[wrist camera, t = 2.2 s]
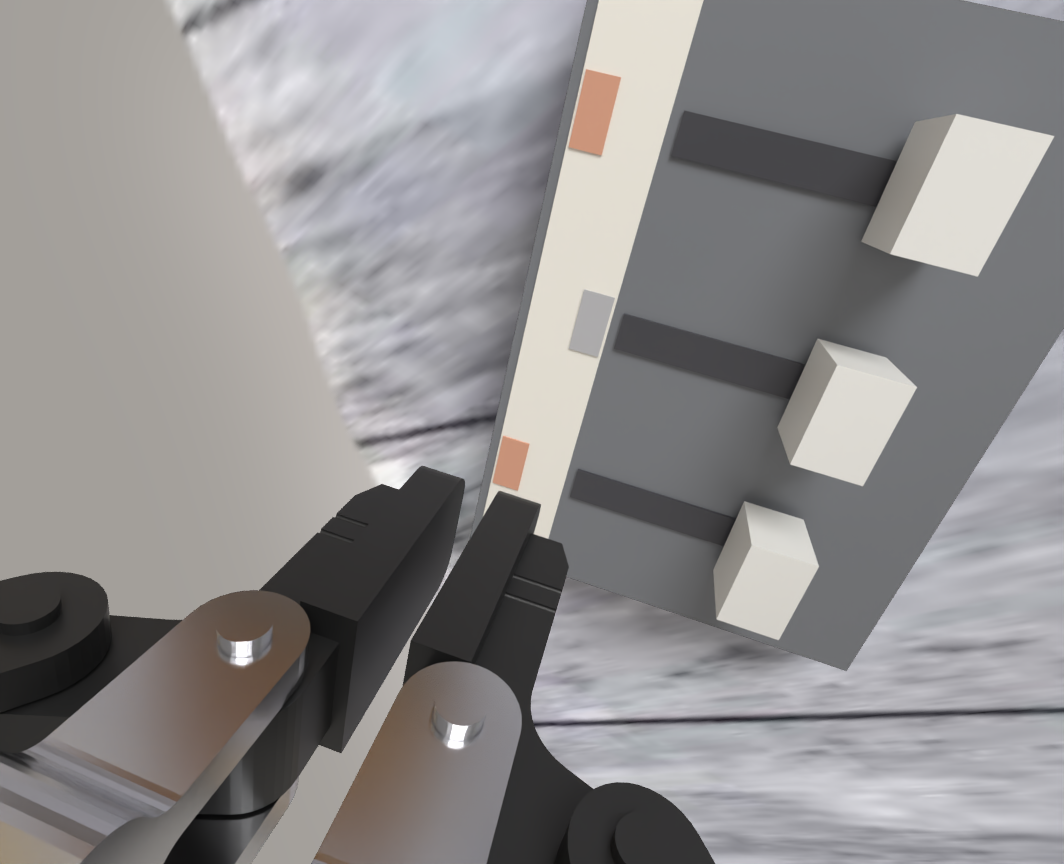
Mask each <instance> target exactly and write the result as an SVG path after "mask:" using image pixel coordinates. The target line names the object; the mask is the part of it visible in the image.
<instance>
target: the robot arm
mask: <svg viewBox="0 0 1064 864" xmlns="http://www.w3.org/2000/svg"><path fill="white" fill-rule="evenodd" d="M464 488H465V481H464V479H462V478H459V477H456V476H453V475H450V474H446V473H443V472H440V471H437V470H434V469H431V468H428V467H425V466H421V467H419V468H418V469H417V470H416V471H415V473H414V474H413V475H412V476H411V477H410V478H409V479H408V480H407V482H406V483H405V484H404V485H403V486H402V487H401V488H400V489H399V490H398V489H395V488H392V487H389V486H386V485H383V484H381V485H379V486H376V487H374V488H372V489H369V490H367V491H365V492H362V493H360V494H357V495H355V496H354V497H353V498H352V499H351V500H350V501H349V502H348V503H347V504H346V505H345V506H344V507H343V508H342V509H341V510H340V511H339V512H338V513H337V515H336V517H335V518H334V517H333V518H332V519H331V520H330V521H329V522H328V523H327V524H326V525H325V526H324V527H323V528H322V529H321V532H320V533H317V534H316V535H315V536H314V537H313V538H312V539H311V540H309V541H308V543H306V544H305V546H304V547H302V548H301V549H300V550H299V551H298V552H297V553H296V554H295V555H294V556H293V557H292V558H291V559H290V560H289V561H288V562H287V563H286V564H285V565H284V567H282V568H281V569H280V570H279V571H278V572H277V573H276V574H275V575H274V576H273V577H272V578H271V579H270V580H269V581H268V582H267V583H266V584H265V585H264V586H263V587H262V588H261V589H260V590H259V591H258V590H250V591H240V592H234V593H230V594H226V595H223V596H220V597H217V598H215V599H212V600H210V601H208V602H207V603H205V604H203V605H201V606H200V607H198V608H197V609H196V610H194V611H193V612H192V613H191V614H189V615H188V616H187V617H186V618H185V619H184V620H165V619H152V618H139V617H125V616H112V615H109V607H108V599H107V594H106V593H105V591H104V589H103V588H102V587H101V586H100V585H99V584H98V583H97V582H95V581H94V580H92V579H90V578H88V577H85V576H83V575H78V574H73V573H66V572H43V573H34V574H29V575H24V576H19V577H14V578H10V579H6V580H2V581H0V864H251V863H252V862H253V860H254V859H255V857H256V856H257V854H258V852H259V851H260V849H261V848H262V846H263V845H264V843H265V842H266V840H267V839H268V837H269V836H270V834H271V833H272V831H273V829H274V828H275V827H276V825H277V824H278V822H279V820H280V819H281V817H282V816H283V814H284V813H285V811H286V810H287V808H288V807H289V805H290V803H291V801H292V800H293V798H294V796H295V793H296V790H297V785H298V780H299V775H300V773H301V772H302V770H303V769H304V767H305V765H306V764H307V762H308V761H309V759H310V758H311V756H312V754H313V753H314V751H315V750H316V748H317V747H318V745H321V746H324V747H326V748H329V749H332V750H334V751H336V752H340V753H342V751H343V749H344V748H345V746H346V744H347V743H348V741H349V739H350V737H351V736H352V734H353V732H354V731H355V729H356V727H357V726H358V724H359V722H360V721H361V719H362V717H363V715H364V714H365V712H366V710H367V709H368V707H369V705H370V704H371V702H372V700H373V699H374V697H375V695H376V693H377V692H378V690H379V688H380V687H381V685H382V683H383V682H384V680H385V678H386V676H387V675H388V673H389V671H390V670H391V668H392V666H393V665H394V663H395V661H396V659H397V658H398V656H399V654H400V653H401V651H402V649H403V647H404V646H405V644H406V643H407V641H408V639H409V638H410V636H411V634H412V632H413V631H414V629H415V627H416V626H417V624H418V622H419V621H420V619H421V617H422V616H423V614H424V612H425V610H426V609H427V607H428V605H429V604H430V602H431V600H432V599H433V597H434V595H435V593H436V592H437V590H438V588H439V586H440V584H441V582H442V580H443V578H444V575H445V572H446V570H447V567H448V564H449V561H450V557H451V553H452V548H453V543H454V538H455V533H456V529H457V524H458V519H459V514H460V509H461V504H462V499H463V494H464ZM540 508H541V504H539V503H536V502H533V501H530V500H527V499H524V498H521V497H518V496H515V495H512V494H508V493H505V492H502V491H498V492H497V494H496V496H495V497H494V499H493V501H492V502H491V504H490V506H489V508H488V509H487V511H486V513H485V514H484V516H483V518H482V520H481V521H480V523H479V525H478V526H477V528H476V530H475V532H474V533H473V535H472V537H471V538H470V540H469V542H468V544H467V545H466V547H465V549H464V550H463V552H462V554H461V556H460V557H459V559H458V561H457V562H456V564H455V566H454V568H453V569H452V571H451V573H450V574H449V576H448V578H447V580H446V581H445V583H444V585H443V586H442V588H441V590H440V592H439V593H438V595H437V597H436V598H435V600H434V602H433V604H432V605H431V607H430V609H429V610H428V612H427V614H426V616H425V617H424V619H423V621H422V622H421V624H420V626H419V628H418V629H417V631H416V633H415V634H414V636H413V638H412V640H411V643H410V649H409V654H408V659H407V665H406V671H405V676H404V682H403V687H402V688H401V690H400V692H399V693H398V695H397V697H396V699H395V701H394V703H393V705H392V707H391V709H390V711H389V713H388V715H387V717H386V719H385V721H384V723H383V725H382V727H381V729H380V731H379V733H378V735H377V737H376V739H375V740H374V743H373V744H372V746H371V748H370V750H369V752H368V754H367V756H366V758H365V760H364V762H363V764H362V766H361V768H360V770H359V772H358V774H357V776H356V778H355V780H354V782H353V784H352V786H351V788H350V789H349V791H348V794H347V795H346V798H345V799H344V801H343V803H342V805H341V807H340V809H339V811H338V813H337V815H336V817H335V819H334V821H333V823H332V825H331V827H330V829H329V831H328V833H327V834H326V837H325V838H324V840H323V842H322V844H321V846H320V848H319V850H318V852H317V854H316V856H315V858H314V860H313V861H312V863H311V864H715V862H714V861H713V859H712V857H711V855H710V854H709V852H708V850H707V848H706V847H705V845H704V843H703V841H702V840H701V838H700V836H699V834H698V833H697V831H696V830H695V828H694V827H693V825H692V824H691V822H690V821H689V820H688V819H687V818H686V816H685V815H684V814H683V813H682V812H681V811H680V810H679V809H678V808H677V807H676V806H675V805H674V804H673V803H671V802H670V801H669V800H667V799H666V798H664V797H663V796H662V795H660V794H658V793H656V792H654V791H653V790H651V789H648V788H645V787H643V786H640V785H636V784H631V783H618V782H616V783H610V784H605V785H602V786H600V787H597V788H595V789H593V788H591V787H590V786H589V785H587V784H586V783H585V782H583V781H582V780H581V779H580V778H578V777H577V776H576V775H574V774H573V773H572V772H570V771H569V770H568V769H566V768H565V767H564V766H563V765H562V764H561V763H559V762H558V761H557V760H556V759H555V758H554V757H553V756H552V755H551V753H550V752H549V751H548V750H547V749H546V747H545V746H544V744H543V743H542V741H541V740H540V738H539V736H538V734H537V732H536V730H535V727H534V724H533V720H532V715H531V695H532V690H533V687H534V684H535V680H536V677H537V673H538V670H539V667H540V663H541V660H542V657H543V653H544V650H545V646H546V643H547V640H548V636H549V633H550V629H551V626H552V623H553V619H554V616H555V612H556V609H557V606H558V602H559V599H560V596H561V592H562V589H563V586H564V582H565V579H566V575H567V572H568V569H569V565H568V562H567V558H566V555H565V552H564V548H563V545H562V543H559V542H556V541H553V540H550V539H547V538H544V537H541V536H538V535H535V534H534V531H535V528H536V524H537V520H538V517H539V513H540Z"/></svg>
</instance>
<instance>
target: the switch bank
mask: <svg viewBox="0 0 1064 864" xmlns="http://www.w3.org/2000/svg"><path fill="white" fill-rule="evenodd" d="M953 114H960V115H964V116H968V117H973V118H977V119H982V120H986V121H990V122H995V123H999V124H1004V125H1008V126H1012V127H1017V128H1021V129H1026V130H1030V131H1034V132H1039V133H1043V134H1048V135H1052V136H1054V138H1053V140H1052V142H1051V144H1050V145H1049V147H1048V149H1047V151H1046V153H1045V154H1044V156H1043V158H1042V160H1041V162H1040V164H1039V165H1038V167H1037V169H1036V171H1035V173H1034V175H1033V176H1032V178H1031V180H1030V182H1029V184H1028V186H1027V187H1026V189H1025V191H1024V193H1023V195H1022V197H1021V198H1020V200H1019V202H1018V204H1017V206H1016V207H1015V209H1014V211H1013V213H1012V215H1011V217H1010V218H1009V220H1008V222H1007V224H1006V226H1005V228H1004V229H1003V231H1002V233H1001V235H1000V237H999V239H998V240H997V242H996V244H995V246H994V248H993V250H992V251H991V253H990V255H989V257H988V259H987V260H986V262H985V264H984V266H983V268H982V270H981V271H980V273H979V275H978V277H977V276H973V275H969V274H966V273H962V272H958V271H954V270H950V269H946V268H942V267H938V266H934V265H930V264H927V263H923V262H919V261H915V260H911V259H907V258H903V257H899V256H895V255H891V254H889V253H886V252H884V251H882V250H879V249H877V248H875V247H872V246H870V245H868V244H866V243H863V242H861V241H862V239H863V236H864V234H865V232H866V230H867V227H868V225H869V223H870V221H871V219H872V216H873V214H874V212H875V210H876V208H877V205H878V203H879V201H880V199H881V196H882V194H883V192H884V190H885V188H886V185H887V183H888V181H889V179H890V176H891V174H892V172H893V170H894V168H895V165H896V163H897V161H898V159H899V156H900V154H901V152H902V150H903V148H904V145H905V143H906V141H907V139H908V136H909V134H910V132H911V130H912V128H913V125H914V123H915V122H917V121H922V120H928V119H933V118H938V117H943V116H948V115H953ZM1063 329H1064V21H1060V20H1055V19H1050V18H1045V17H1040V16H1035V15H1031V14H1026V13H1021V12H1016V11H1011V10H1006V9H1002V8H997V7H992V6H987V5H982V4H977V3H972V2H968V1H963V0H587V2H586V7H585V11H584V16H583V21H582V25H581V30H580V34H579V39H578V44H577V48H576V53H575V57H574V62H573V67H572V71H571V76H570V80H569V85H568V90H567V94H566V99H565V103H564V108H563V113H562V117H561V122H560V126H559V131H558V136H557V140H556V145H555V149H554V154H553V159H552V163H551V168H550V172H549V177H548V182H547V186H546V191H545V195H544V200H543V205H542V209H541V214H540V218H539V223H538V228H537V232H536V237H535V241H534V246H533V251H532V255H531V260H530V264H529V269H528V274H527V278H526V283H525V287H524V292H523V297H522V301H521V306H520V310H519V315H518V320H517V324H516V329H515V333H514V338H513V343H512V347H511V352H510V356H509V361H508V366H507V370H506V375H505V379H504V384H503V389H502V393H501V398H500V402H499V407H498V412H497V416H496V421H495V425H494V430H493V435H492V439H491V444H490V448H489V453H488V458H487V462H486V467H485V471H484V476H483V481H482V485H481V490H480V494H479V499H478V504H477V508H476V513H475V517H474V522H473V527H472V531H471V536H470V538H471V537H472V535H473V533H474V532H475V530H476V528H477V526H478V525H479V523H480V521H481V520H482V518H483V516H484V514H485V513H486V511H487V509H488V508H489V506H490V504H491V502H492V501H493V499H494V497H495V496H496V494H497V492H498V491H502V492H505V493H508V494H512V495H515V496H518V497H521V498H524V499H527V500H530V501H533V502H536V503H539V504H541V508H540V513H539V517H538V520H537V524H536V528H535V531H534V534H535V535H538V536H541V537H544V538H547V539H550V540H553V541H556V542H559V543H562V545H563V548H564V552H565V555H566V558H567V562H568V565H569V569H568V572H567V575H566V577H568V578H571V579H574V580H577V581H580V582H583V583H586V584H589V585H592V586H595V587H598V588H601V589H604V590H607V591H610V592H613V593H616V594H619V595H622V596H625V597H628V598H631V599H634V600H637V601H640V602H643V603H646V604H649V605H652V606H655V607H658V608H661V609H664V610H667V611H670V612H673V613H676V614H678V615H681V616H684V617H687V618H690V619H693V620H696V621H699V622H702V623H705V624H708V625H711V626H714V627H717V628H720V629H723V630H726V631H729V632H732V633H735V634H738V635H741V636H744V637H747V638H750V639H753V640H756V641H759V642H762V643H765V644H768V645H771V646H774V647H777V648H780V649H783V650H786V651H788V652H791V653H794V654H797V655H800V656H803V657H806V658H809V659H812V660H815V661H818V662H821V663H824V664H827V665H830V666H833V667H836V668H839V669H842V670H845V671H847V669H848V668H849V666H850V665H851V663H852V661H853V660H854V658H855V657H856V655H857V654H858V652H859V650H860V649H861V647H862V646H863V644H864V643H865V641H866V639H867V638H868V636H869V635H870V633H871V631H872V630H873V628H874V627H875V625H876V624H877V622H878V620H879V619H880V617H881V616H882V614H883V613H884V611H885V609H886V608H887V606H888V605H889V603H890V601H891V600H892V598H893V597H894V595H895V594H896V592H897V590H898V589H899V587H900V586H901V584H902V583H903V581H904V579H905V578H906V576H907V575H908V573H909V572H910V570H911V568H912V567H913V565H914V564H915V562H916V560H917V559H918V557H919V556H920V554H921V553H922V551H923V549H924V548H925V546H926V545H927V543H928V542H929V540H930V538H931V537H932V535H933V534H934V532H935V531H936V529H937V527H938V526H939V524H940V523H941V521H942V519H943V518H944V516H945V515H946V513H947V512H948V510H949V508H950V507H951V505H952V504H953V502H954V501H955V499H956V497H957V496H958V494H959V493H960V491H961V490H962V488H963V486H964V485H965V483H966V482H967V480H968V478H969V477H970V475H971V474H972V472H973V471H974V469H975V467H976V466H977V464H978V463H979V461H980V460H981V458H982V456H983V455H984V453H985V452H986V450H987V449H988V447H989V445H990V444H991V442H992V441H993V439H994V437H995V436H996V434H997V433H998V431H999V430H1000V428H1001V426H1002V425H1003V423H1004V422H1005V420H1006V419H1007V417H1008V415H1009V414H1010V412H1011V411H1012V409H1013V407H1014V406H1015V404H1016V403H1017V401H1018V400H1019V398H1020V396H1021V395H1022V393H1023V392H1024V390H1025V389H1026V387H1027V385H1028V384H1029V382H1030V381H1031V379H1032V378H1033V376H1034V374H1035V373H1036V371H1037V370H1038V368H1039V366H1040V365H1041V363H1042V362H1043V360H1044V359H1045V357H1046V355H1047V354H1048V352H1049V351H1050V349H1051V348H1052V346H1053V344H1054V343H1055V341H1056V340H1057V338H1058V337H1059V335H1060V333H1061V332H1062V330H1063ZM817 339H821V340H825V341H828V342H832V343H836V344H839V345H843V346H846V347H850V348H854V349H857V350H861V351H865V352H868V353H872V354H875V355H879V356H883V357H886V358H887V359H888V360H889V361H890V362H892V363H893V364H894V365H895V366H896V367H897V368H898V369H899V370H900V371H901V372H902V373H903V374H904V375H905V376H906V377H907V378H908V379H909V380H910V381H911V382H912V383H913V384H914V385H915V386H916V387H917V388H916V390H915V392H914V394H913V396H912V398H911V399H910V401H909V403H908V405H907V407H906V409H905V410H904V412H903V414H902V416H901V418H900V420H899V421H898V423H897V425H896V427H895V429H894V430H893V432H892V434H891V436H890V438H889V440H888V441H887V443H886V445H885V447H884V449H883V451H882V452H881V454H880V456H879V458H878V460H877V462H876V463H875V465H874V467H873V469H872V471H871V473H870V474H869V476H868V478H867V480H866V482H865V483H864V485H863V486H860V485H857V484H854V483H850V482H847V481H844V480H840V479H837V478H834V477H830V476H827V475H824V474H820V473H817V472H814V471H810V470H807V469H804V468H800V467H797V466H794V465H790V463H789V460H788V457H787V454H786V451H785V448H784V445H783V442H782V439H781V437H780V434H779V431H778V428H777V427H778V425H779V423H780V421H781V418H782V416H783V414H784V412H785V410H786V407H787V405H788V403H789V401H790V398H791V396H792V394H793V392H794V390H795V387H796V385H797V383H798V381H799V378H800V376H801V374H802V372H803V370H804V367H805V365H806V363H807V361H808V359H809V356H810V354H811V352H812V350H813V347H814V345H815V343H816V341H817ZM744 501H745V502H749V503H752V504H755V505H758V506H761V507H765V508H768V509H771V510H774V511H778V512H781V513H784V514H787V515H790V516H794V517H797V518H800V519H803V520H804V522H805V525H806V528H807V531H808V535H809V538H810V541H811V544H812V547H813V550H814V553H815V556H816V559H817V562H818V565H819V568H818V569H817V571H816V573H815V575H814V577H813V579H812V580H811V582H810V584H809V586H808V588H807V589H806V591H805V593H804V595H803V597H802V599H801V600H800V602H799V604H798V606H797V608H796V610H795V611H794V613H793V615H792V617H791V619H790V621H789V622H788V624H787V626H786V628H785V630H784V632H783V633H782V635H781V637H780V639H779V640H776V639H773V638H770V637H767V636H764V635H761V634H758V633H756V632H753V631H750V630H747V629H744V628H741V627H738V626H735V625H732V624H729V623H726V622H723V621H720V620H717V619H716V605H715V589H714V574H713V569H714V567H715V565H716V563H717V561H718V558H719V556H720V554H721V552H722V549H723V547H724V545H725V543H726V541H727V538H728V536H729V534H730V532H731V529H732V527H733V525H734V523H735V521H736V518H737V516H738V514H739V512H740V509H741V507H742V505H743V503H744Z"/></svg>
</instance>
